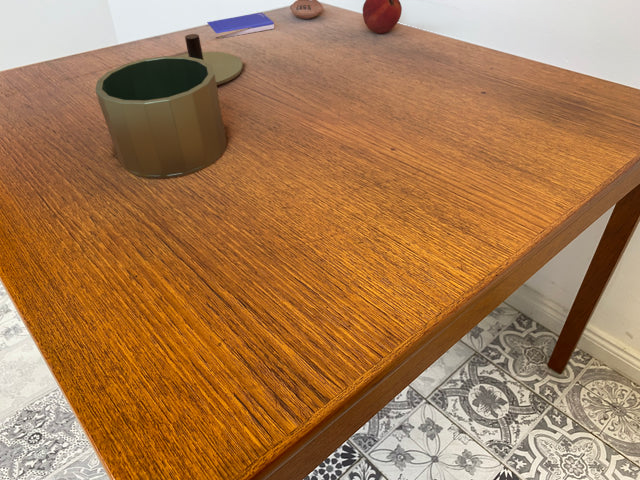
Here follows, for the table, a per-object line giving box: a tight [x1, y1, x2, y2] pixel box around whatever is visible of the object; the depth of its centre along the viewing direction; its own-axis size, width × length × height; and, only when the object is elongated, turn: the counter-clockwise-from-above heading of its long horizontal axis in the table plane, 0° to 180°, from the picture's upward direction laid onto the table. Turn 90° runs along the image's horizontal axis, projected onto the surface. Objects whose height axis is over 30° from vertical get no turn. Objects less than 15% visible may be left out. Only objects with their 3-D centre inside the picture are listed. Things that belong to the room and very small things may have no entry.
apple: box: [362, 0, 403, 34], centre depth 103 cm, size 7×8×8 cm
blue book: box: [206, 11, 275, 40], centre depth 110 cm, size 2×8×12 cm
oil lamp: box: [289, 0, 325, 20], centre depth 115 cm, size 9×4×8 cm
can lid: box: [179, 33, 244, 86], centre depth 91 cm, size 16×16×7 cm
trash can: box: [95, 55, 228, 180], centre depth 69 cm, size 15×15×10 cm
